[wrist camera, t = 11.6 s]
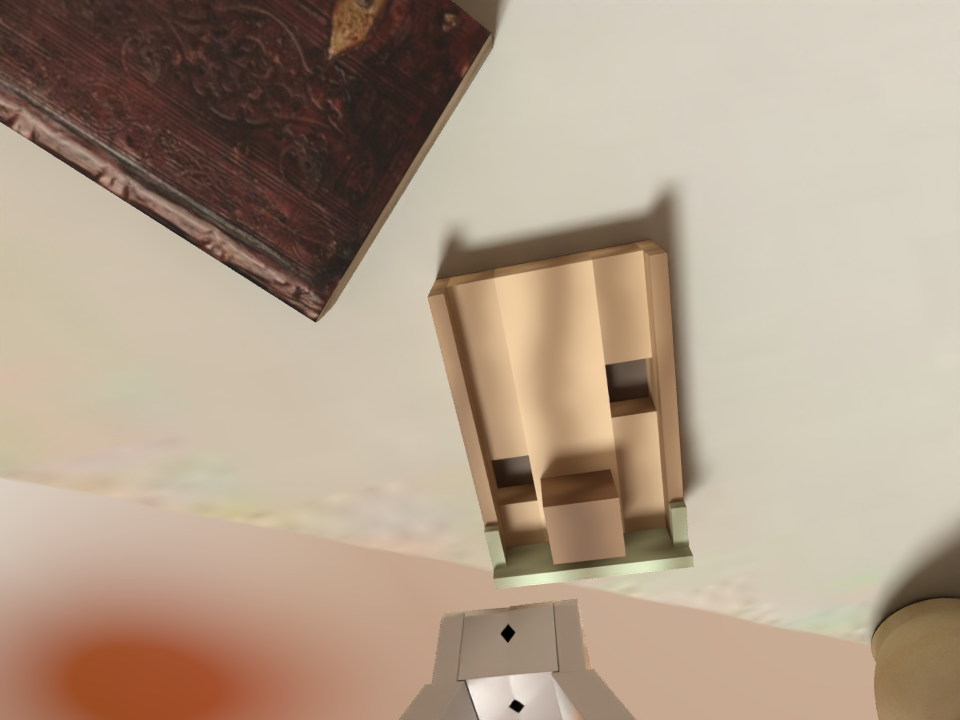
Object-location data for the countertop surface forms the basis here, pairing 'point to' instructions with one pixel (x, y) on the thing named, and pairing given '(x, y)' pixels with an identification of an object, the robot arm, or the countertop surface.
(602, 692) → the robot arm
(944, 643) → the planter bowl
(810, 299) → the countertop surface
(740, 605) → the countertop surface
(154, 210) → the hardback book
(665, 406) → the box
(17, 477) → the countertop surface
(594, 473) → the block
